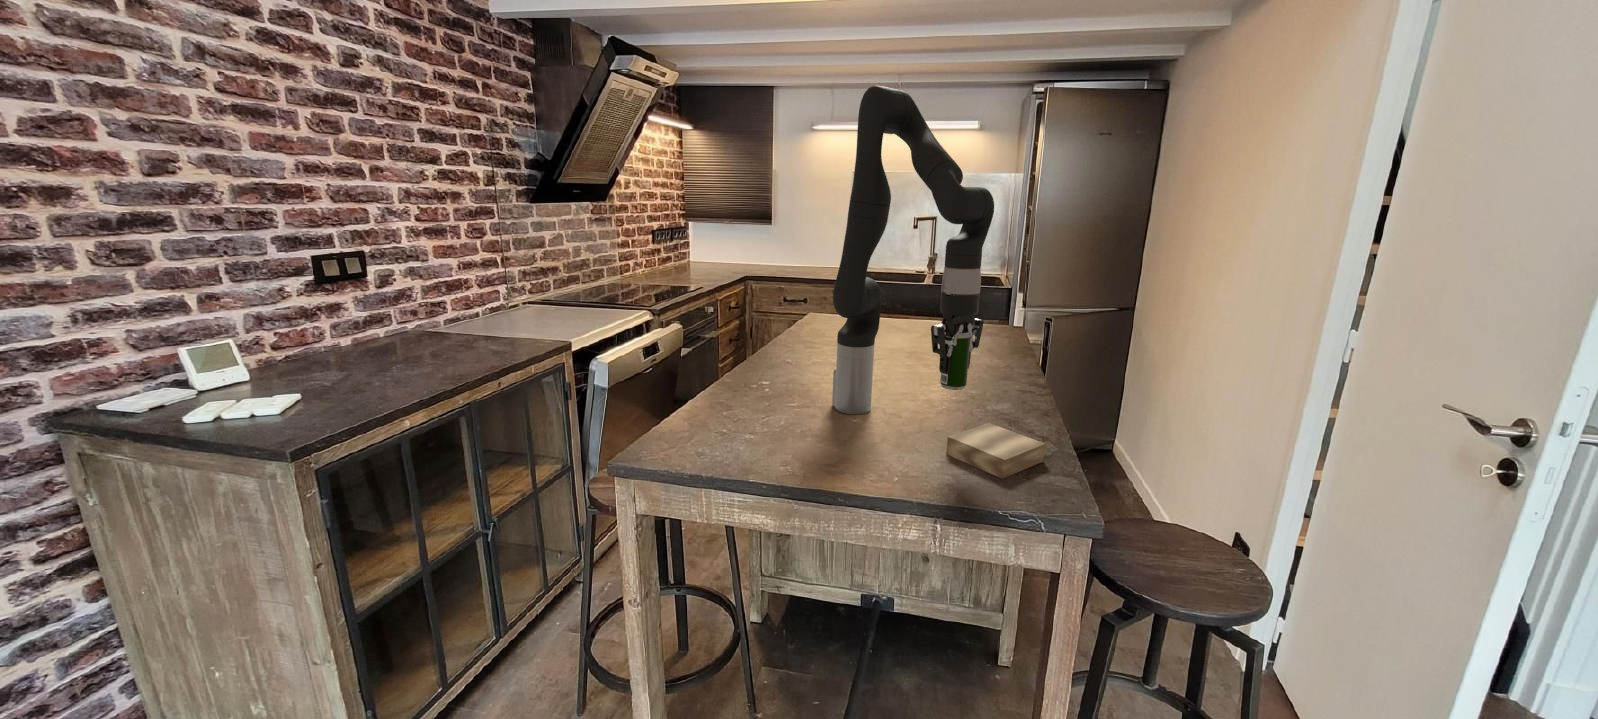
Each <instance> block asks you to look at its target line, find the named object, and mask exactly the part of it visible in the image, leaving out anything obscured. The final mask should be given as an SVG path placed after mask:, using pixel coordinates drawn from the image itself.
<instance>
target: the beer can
mask: <svg viewBox="0 0 1598 719" xmlns="http://www.w3.org/2000/svg"><path fill="white" fill-rule="evenodd" d="M969 333H970V331H969V332H967V331H963V332H962V333H959V335H958V338H957V345H956V346H954V347H953V351H952V354H951V356H950V357H951V369H950V374H943V373H941V372H940V379H939V380H940V383H939V384H940V386H941V387H942V388H943V389H946V390H951V391H960V390H961V391H962V390H964V389H966V386H967V383H968V374H969V372H968V371H969V369H968V361H969V350H970V338H971V336H970V334H969ZM952 339H953V337H949V336H946V335H945V340H948V341H951V340H952ZM945 348H946V350H947V348H948V344H946V345H945Z"/></svg>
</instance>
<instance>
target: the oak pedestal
mask: <svg viewBox="0 0 1598 719" xmlns="http://www.w3.org/2000/svg"><path fill="white" fill-rule="evenodd" d="M946 442H947V443H946V451H945V454H946V455H948V456H950V457H952V458H954V459H956V460H958V461H961V462H963V463H966V464H969V465H970V466H972V467H975V468H977V469H978V470H982V471H983V472H986V473H988V474H991V475H993V476H995V477H996V478H1000V479H1005V478H1008V477H1010V476H1013V475H1014V474H1017V473H1020V472H1022V471H1024V470H1026V469H1029V468H1031V467H1034V466H1036V465H1038V464H1040V463H1043V462H1044V457H1045V450H1046V443H1044V442H1042V441H1039V440H1036V439H1033V438H1031V437H1028V436H1026V435H1023V434H1020V433H1018V432H1015V431H1012V430H1009V429H1006V428H1004V427H1002V426H998V425H995V424H993V423H990V422H988V423H984V424H982V425H978V426H975V427H972V428H970V429H969V428H968V429H966V430H964V431H960V432H957V433H955V434H952V435H948V436H947V441H946Z"/></svg>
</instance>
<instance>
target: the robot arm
mask: <svg viewBox="0 0 1598 719" xmlns="http://www.w3.org/2000/svg"><path fill="white" fill-rule="evenodd" d="M856 132H857V133H856V134H857V135H856V137H857V138H856V151H855V152H856V154H855V163H854V170H853V171H854V172H853V180H852V186H851V194H850V198H849V205H848V213H847V222H846V229H845V235H844V242H843V246H842V247H843V248H842V252H841V258H840V263H839V267H838V272H837V275H836V279H835V283H834V287H833V292H832V303H833V308H834V310H835V311H836V313H837V314H838V315H839V316H840V317H842V318H845V319H846V321H845V323H844V325H843V326H842V327H841V328H840V329H839V330H838V332H837V336H836V337H837V339H836V362H835V363H836V364H835V365H836V366H835V369H834V370H833V372H832V373H833V375H832V376H833V377H832V378H833V379H832V380H833V381H832V399H831V406H833V407H834V409H835V410H836V411H837V412H840V413H843V414H847V415H863V414H866V413H869V412H871V409H872V394H873V376H874V375H873V374H874V362H875V360H874V359H875V358H874V357H875V341H876V337H877V334H878V333H879V328H880V321H881V320H880V319H881V312H882V310H881V309H882V292H881V287H880V286H879V283H878V282H877V281H876V280H875V279H874V278H871V277H869V276H868V277H867V274H868V268H869V264H870V261H871V258H872V256H873V254H874V252H875V250H876V248H877V247H878V244H879V243H880V241H881V239H882V237H883V235H884V233H885V231H886V227H887V224H888V219H889V215H890V208H891V204H892V203H891V202H892V201H891V200H892V194H891V193H892V192H891V187H890V184H889V181H888V178H887V174H886V171H885V169H884V165H883V159H882V149H883V148H882V147H883V139H884V134H885V135H887V134H888V135H896V136H897V137H898V138H900V140H902V141H903V142H904V143H905V144H906V145H907V146H908V148H909V149H910V156H911V163H912V166H913V169H914V171H915V173H916V174H917V175H918V177H919V178H920V179H921V181H922V182H923V183H924V185H925V186H926V187H927V188H928V189H929V190H930V191H931V194H932V198H933V200H934V202H935V205H936V208H937V210H938V213H939V214H940V215H941V217H942V218H943V219H944V220H945V221H947V222H949V223H950V224H953V225H961V229H960V231H959V233H958V234H957V235H956V236H952V237H951V238H949V239H948V240H947V241H946V245H945V257H944V268H943V273H942V278H941V279H942V280H941V290H940V291H941V295H940V307H939V310H940V313H942V315H943V318H942V320H941V323H939V324H938V325H937V324H936V325H935V324H932V325H931V327H930V335H931V337H930V338H931V348H932V353H933V354H937V355H939V365H938V368H939V370H938V371H939V372H940V374H941V373H943V374H950V369H951V357H950V356H951V354H952V351H953V347H954V346H956V345H957V338H958V335H959V333H962V332H963V331H967V332H969V331H970V333H969V334H970V336H971V338H970V350H969V361H968V370H969V369H970V364H971V354H972V353H973V351H974V349H978V348H979V345H980V342H981V338H982V337H981V336H982V332H983V328H984V320H983V319H979V318H976V317H975V315H978V313H979V310H980V308H979V307H980V295H981V285H982V275H981V274H982V271H981V269H982V257H983V247H984V243H985V241H986V238H987V237H988V233H989V230H990V227H991V224H992V221H993V217H994V213H995V202H994V197H993V194H992V193H991V192H990V190H988V189H987V188H985V187H983V186H982V187H981V186H979V187H978V186H964V185H961V184H962V182H963V179H964V173H963V171H962V169H961V167H960V166H959V164H957V162H956V161H955V160H954V159H953V158H952V156H951V155H950V154H949V153H948V151H947V150H946V149H945V148H944V147H943V146H942V144H941V143H940V142H939V141H938V140H937V138H936V137H935V135H934V133H933V132H932V130H931V128H930V127H929V125H928V124H927V121H926V120H925V118H924V116H923V115H922V113H921V111H920V109H919V108H918V105H917V103H916V102H915V100H914V99H913V97H912V96H911V95H910V94H909V93H908V92H906V91H904V90H902V89H899V88H893V87H887V86H882V85H872V86H870V87H869V88H867V89H866V90H865V91H864V94H863V96H862V97H861V100H860V104H859V109H858V118H857V130H856ZM945 335H946V336H949V337H953V339H952V340H951V341H948V340H945ZM946 344H948V348H947V350H946V348H945V345H946Z"/></svg>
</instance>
